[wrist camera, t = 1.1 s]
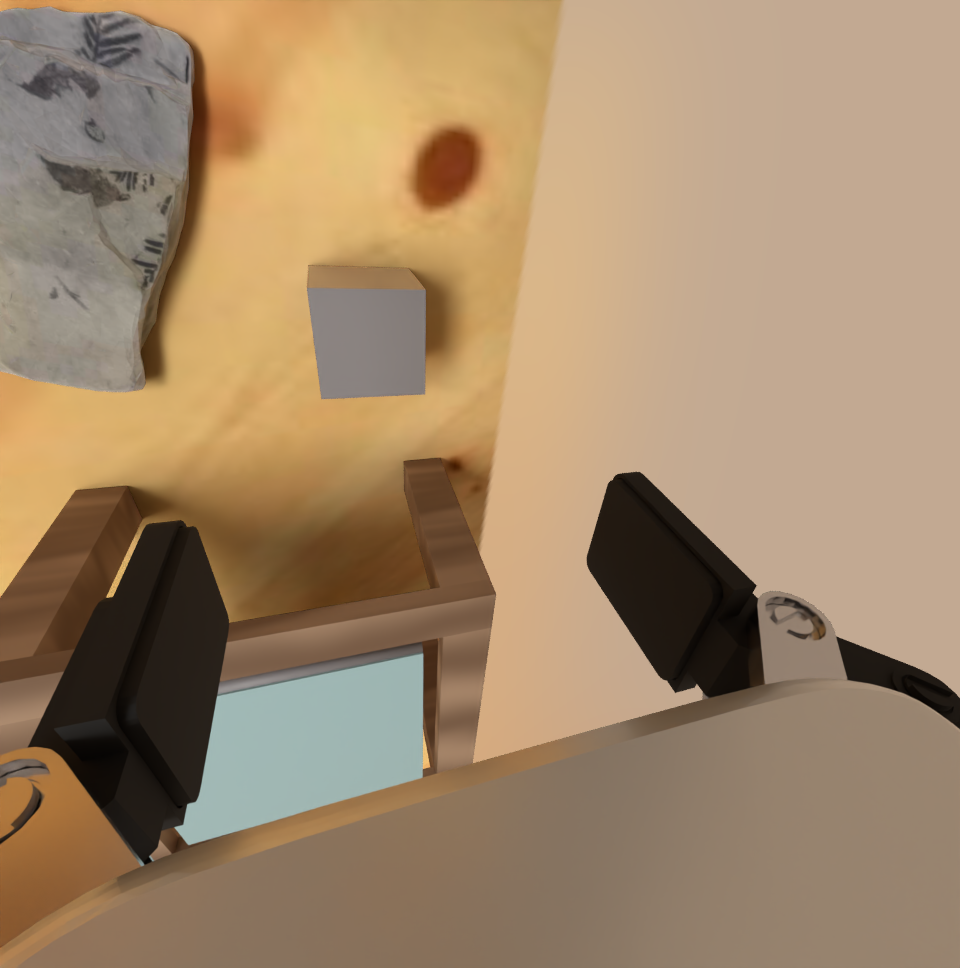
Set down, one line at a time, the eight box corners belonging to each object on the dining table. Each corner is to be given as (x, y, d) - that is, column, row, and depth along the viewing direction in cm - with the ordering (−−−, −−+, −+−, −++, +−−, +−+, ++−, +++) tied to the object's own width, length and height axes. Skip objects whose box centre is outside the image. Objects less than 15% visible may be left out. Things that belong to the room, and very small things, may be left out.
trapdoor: (96, 695, 20) (87, 717, 19) (419, 632, 23) (423, 648, 23) (191, 825, 28) (188, 845, 27) (419, 763, 32) (422, 778, 31)
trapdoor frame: (75, 490, 26) (-68, 695, 16) (439, 457, 31) (496, 594, 22) (185, 695, 38) (140, 884, 28) (434, 645, 43) (469, 786, 34)
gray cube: (308, 265, 23) (306, 287, 19) (408, 267, 24) (425, 289, 20) (320, 361, 26) (321, 399, 22) (409, 359, 27) (425, 394, 23)
